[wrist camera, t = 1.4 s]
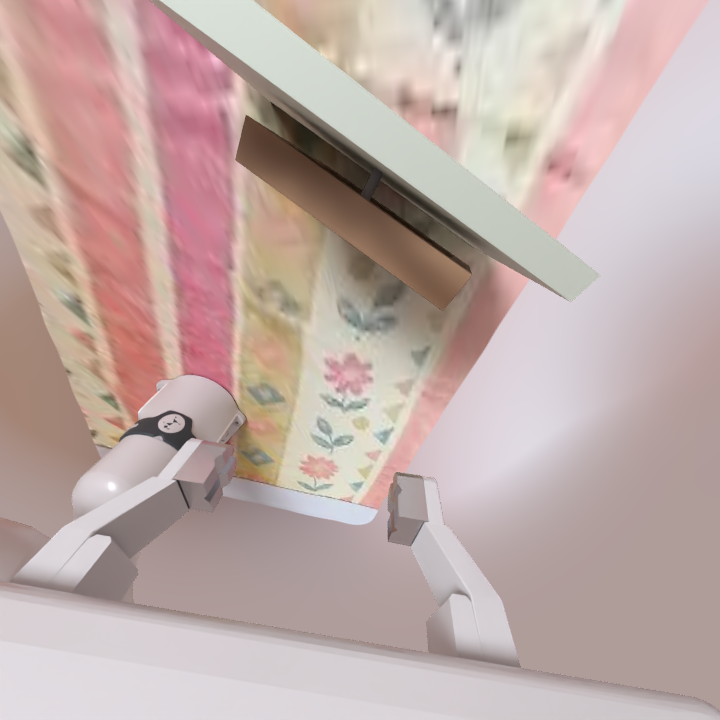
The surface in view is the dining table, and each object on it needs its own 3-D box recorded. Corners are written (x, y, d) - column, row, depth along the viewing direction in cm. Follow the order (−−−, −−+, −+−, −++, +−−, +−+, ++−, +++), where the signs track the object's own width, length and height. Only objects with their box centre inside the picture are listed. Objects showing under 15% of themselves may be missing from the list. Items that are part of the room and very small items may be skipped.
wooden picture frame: (451, 288, 31) (442, 310, 19) (320, 194, 32) (235, 159, 20) (468, 266, 30) (472, 275, 17) (331, 169, 31) (245, 114, 19)
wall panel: (459, 266, 37) (533, 335, 18) (262, 130, 31) (71, 27, 12) (502, 211, 33) (652, 228, 14) (285, 43, 27) (58, -308, 8)
